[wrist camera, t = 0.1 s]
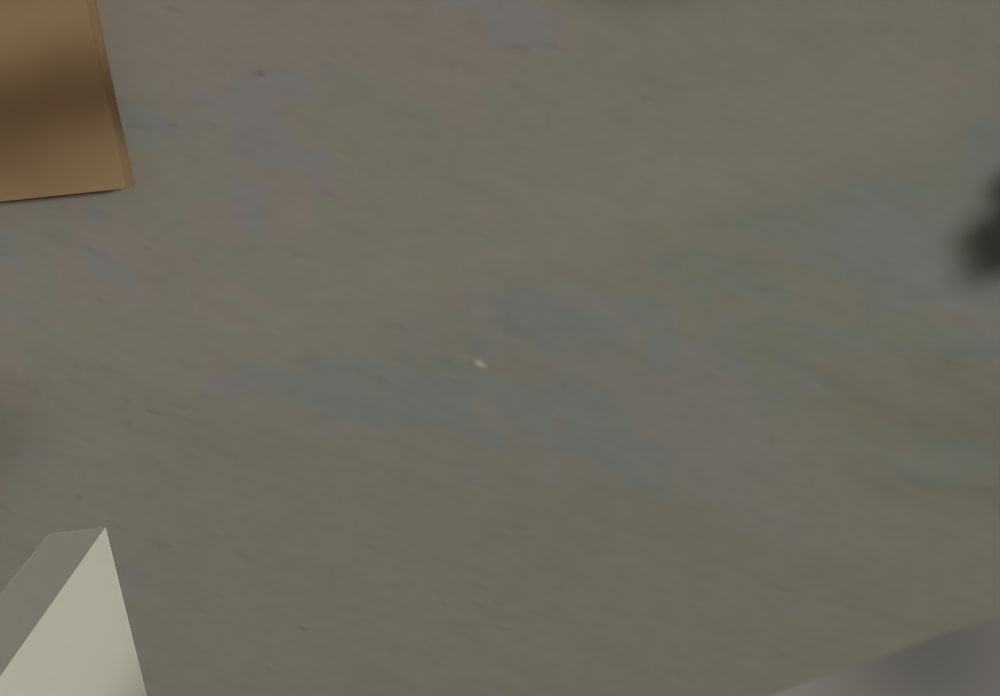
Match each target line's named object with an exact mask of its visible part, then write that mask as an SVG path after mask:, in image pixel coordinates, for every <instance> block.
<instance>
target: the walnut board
mask: <svg viewBox="0 0 1000 696" xmlns="http://www.w3.org/2000/svg"><path fill="white" fill-rule="evenodd" d="M133 185H134V183H133V178H132V173H131V168H130V164H129V159H128V154H127V150H126V145H125V140H124V136H123V131H122V126H121V122H120V117H119V112H118V108H117V103H116V98H115V93H114V89H113V84H112V79H111V75H110V70H109V65H108V61H107V56H106V51H105V47H104V42H103V37H102V33H101V28H100V23H99V18H98V14H97V9H96V4H95V0H0V201H10V200H19V199H29V198H38V197H48V196H58V195H67V194H77V193H86V192H96V191H105V190H115V189H125V188H128V187H131V186H133Z"/></svg>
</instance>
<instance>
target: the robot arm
mask: <svg viewBox="0 0 1000 696" xmlns="http://www.w3.org/2000/svg"><path fill="white" fill-rule="evenodd" d="M0 696H147V695H146V691H145V687H144V683H143V679H142V675H141V671H140V667H139V662H138V658H137V654H136V650H135V646H134V642H133V638H132V634H131V630H130V626H129V622H128V617H127V613H126V609H125V605H124V601H123V597H122V593H121V589H120V585H119V581H118V576H117V572H116V568H115V564H114V560H113V556H112V552H111V548H110V544H109V540H108V536H107V531H106V527H102V528H93V529H84V530H75V531H66V532H57V533H49V534H48V535H47V536H46V538H45V539H44V540H43V541H42V543H41V544H40V545H39V546H38V547H37V549H36V550H35V551H34V552H33V554H32V555H31V556H30V557H29V559H28V560H27V561H26V562H25V563H24V565H23V566H22V567H21V568H20V570H19V571H18V572H17V573H16V574H15V576H14V577H13V578H12V579H11V581H10V582H9V583H8V584H7V586H6V587H5V588H4V589H3V590H2V592H1V593H0Z"/></svg>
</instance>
